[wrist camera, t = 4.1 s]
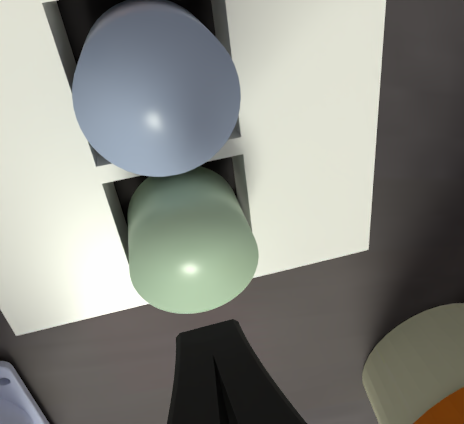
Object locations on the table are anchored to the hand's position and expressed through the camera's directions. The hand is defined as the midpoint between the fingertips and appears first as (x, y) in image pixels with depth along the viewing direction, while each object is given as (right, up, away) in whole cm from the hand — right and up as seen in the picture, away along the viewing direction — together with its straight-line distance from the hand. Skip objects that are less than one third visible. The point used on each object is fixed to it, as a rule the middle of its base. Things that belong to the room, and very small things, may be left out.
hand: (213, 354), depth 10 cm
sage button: (-1, +3, +6) cm, 7 cm away
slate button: (-2, +8, +3) cm, 8 cm away
